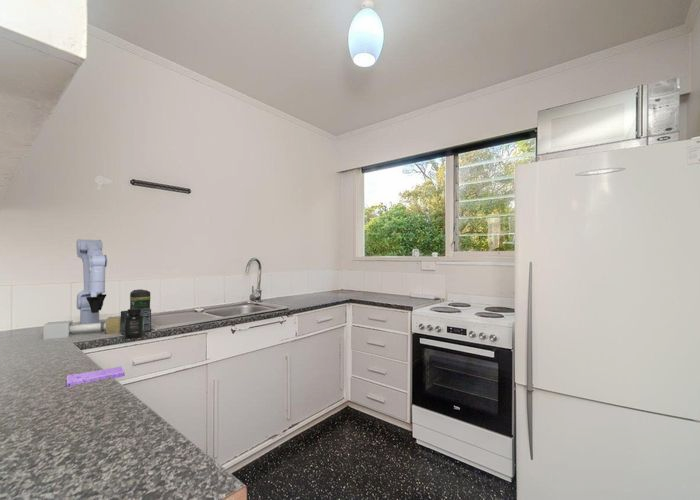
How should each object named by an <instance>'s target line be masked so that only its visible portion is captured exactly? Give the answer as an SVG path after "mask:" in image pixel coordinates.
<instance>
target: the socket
mask: <svg viewBox="0 0 700 500" xmlns="http://www.w3.org/2000/svg"><path fill="white" fill-rule="evenodd" d="M105 323H106V330H105V335H109V334H110V335H111V334H112V335H113V334H121V315H119V316H109V317H107V318H106V319H105Z"/></svg>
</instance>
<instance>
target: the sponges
mask: <svg viewBox="0 0 700 500" xmlns="http://www.w3.org/2000/svg"><path fill="white" fill-rule="evenodd" d="M109 375H110V376H111V377H113V379H117V378H118V379H119V378H122V377H125V375H126V372H125V370H124V368H123V366H115V367H110V368H104V369H98V370H93V371H86V372H80V373H73V374H68V375H66V387H67V386H72V385H76V384H81V383H87V382H91V381H96V380H100V379H106V378H110V376H109ZM72 387H73V386H72Z"/></svg>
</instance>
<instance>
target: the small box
mask: <svg viewBox="0 0 700 500" xmlns="http://www.w3.org/2000/svg"><path fill="white" fill-rule="evenodd" d="M127 313H128V309H127V310H121V311H120V316H121V331H120V335H122V336H124V332H125V317H126V316H127V315H128V314H127ZM141 314H142V315H143V316H144V333H150V332H152V308H150V309H147V308H144V309H141Z"/></svg>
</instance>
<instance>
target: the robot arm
mask: <svg viewBox="0 0 700 500" xmlns="http://www.w3.org/2000/svg"><path fill="white" fill-rule="evenodd" d="M75 246H76V247H75V248H76V255H77V258H79V259H81V261H82V265H83V266H82V267H83V269H82V270H83V271H82V273H83V290H81V291H80V292H78V293H77V294H76V295H77V296H76V309H77V310H79V314H80V315H79V325H81V324H94V323H100V311H102V308H103V306H104V301H105V300H106V299H105V298H106V297H107V293H106V268H107V265H108V257H107V254H104V253H103V252H102V251H103V248H104V247H103V241H102V240H101V239H80V238H79V239H77V240H76V245H75ZM105 293H106V294H105Z"/></svg>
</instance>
